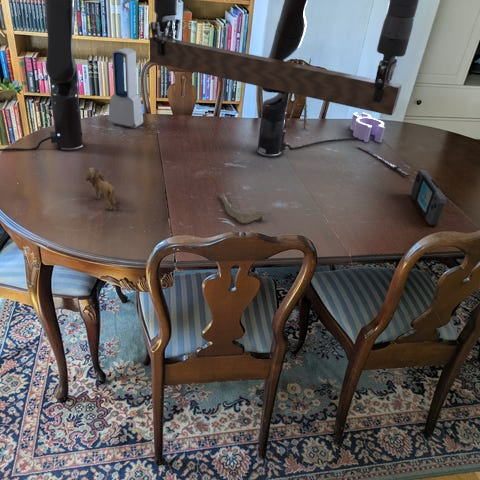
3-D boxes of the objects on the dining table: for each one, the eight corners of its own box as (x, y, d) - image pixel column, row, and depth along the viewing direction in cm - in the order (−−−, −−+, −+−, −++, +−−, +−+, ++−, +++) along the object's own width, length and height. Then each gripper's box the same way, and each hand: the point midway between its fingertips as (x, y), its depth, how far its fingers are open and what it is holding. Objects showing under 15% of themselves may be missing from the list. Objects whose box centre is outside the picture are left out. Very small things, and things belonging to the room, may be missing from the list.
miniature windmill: (304, 129, 213) (316, 61, 197) (286, 126, 214) (297, 58, 198) (306, 123, 221) (318, 57, 205) (288, 120, 222) (299, 54, 206)
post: (394, 111, 133) (402, 84, 129) (391, 115, 130) (399, 87, 125) (157, 59, 160) (157, 35, 156) (149, 61, 156) (149, 37, 152)
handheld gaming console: (409, 194, 166) (417, 168, 160) (416, 194, 166) (425, 168, 160) (428, 227, 146) (439, 199, 141) (437, 228, 147) (448, 200, 141)
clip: (343, 126, 223) (346, 112, 219) (367, 127, 225) (371, 113, 221) (360, 142, 206) (364, 127, 202) (386, 142, 209) (390, 127, 205)
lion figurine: (83, 195, 144) (80, 168, 139) (97, 189, 147) (95, 163, 142) (112, 213, 136) (111, 185, 131) (127, 207, 140) (126, 180, 135)
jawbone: (251, 231, 136) (251, 225, 134) (200, 206, 146) (200, 200, 145) (270, 218, 141) (270, 213, 140) (219, 195, 152) (219, 189, 150)
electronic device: (143, 124, 200) (142, 50, 183) (134, 129, 194) (132, 53, 177) (118, 119, 203) (114, 45, 186) (108, 124, 196) (104, 48, 180)
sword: (412, 176, 179) (413, 173, 178) (406, 177, 178) (407, 174, 177) (361, 148, 202) (362, 145, 201) (356, 149, 201) (356, 146, 200)
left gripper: (169, -6, 153) (168, 49, 162) (142, -4, 141) (143, 55, 151) (188, -3, 150) (186, 53, 159) (163, 0, 139) (162, 59, 148)
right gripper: (386, 29, 129) (371, 91, 138) (375, 35, 118) (359, 102, 127) (414, 34, 126) (396, 97, 136) (405, 40, 115) (386, 108, 125)
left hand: (165, 54), depth 155 cm, fingers closed on post, 4 cm apart
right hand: (378, 99), depth 131 cm, fingers closed on post, 4 cm apart
